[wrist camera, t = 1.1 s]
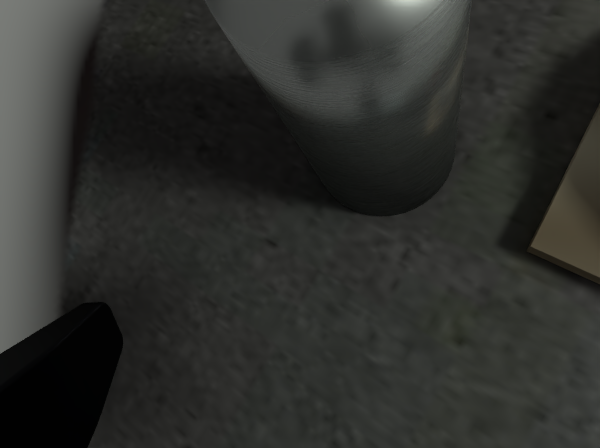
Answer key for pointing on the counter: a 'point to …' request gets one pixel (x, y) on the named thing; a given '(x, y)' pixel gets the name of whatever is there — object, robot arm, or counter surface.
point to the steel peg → (360, 89)
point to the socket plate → (575, 212)
